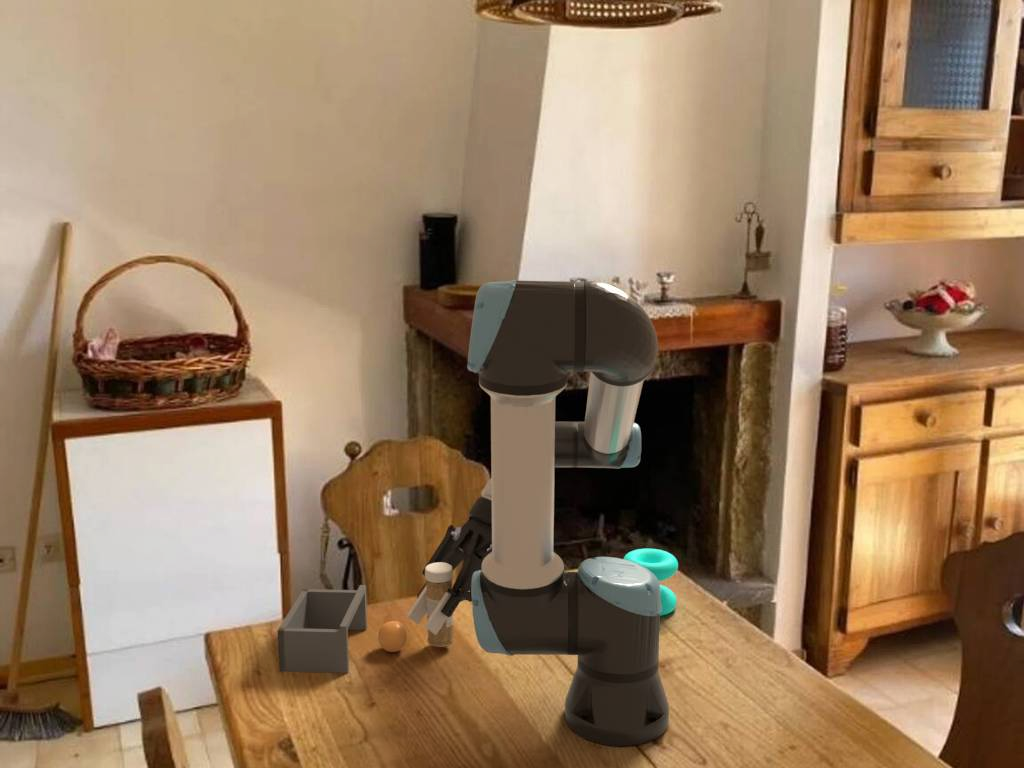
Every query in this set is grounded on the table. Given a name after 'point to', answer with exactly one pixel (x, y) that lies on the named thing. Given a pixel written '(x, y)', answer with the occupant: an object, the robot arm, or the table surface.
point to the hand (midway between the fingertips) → (421, 625)
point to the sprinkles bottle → (437, 586)
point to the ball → (393, 636)
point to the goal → (321, 630)
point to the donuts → (658, 572)
